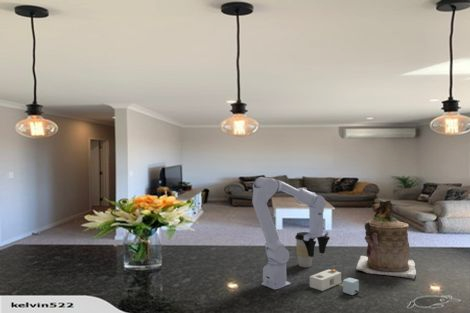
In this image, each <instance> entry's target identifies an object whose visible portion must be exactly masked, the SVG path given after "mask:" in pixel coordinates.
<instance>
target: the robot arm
mask: <svg viewBox="0 0 470 313" xmlns="http://www.w3.org/2000/svg"><path fill="white" fill-rule="evenodd" d="M252 188H253V189H252V190H253V191H252V199H251V200H252V201H251V202H252V206H253V208H254V212H255V215H256V216H257V217H256V218H257V219H258V222H259V225H260V228H261V231H262V234H263V236H264V239H265V244H264V246H265V255H266V257H267V258H268V263H267V264H266V265H265V266H263V268H262V283H261V285H262V286H264V287H267V288H270V289H272V290H278V289H279V290H280V289H282V288H284V287H287V286H290V285H291V284H292V282H289V281H287V262H289V259H290V252H289V250H288V249H287V248H286V247H285V245H284V243H283V242H282V240H281V239H280V237H279V234H278V232H277V229H276V226H275V224H274V221H273V217H272V215H271V211H270V209H269V206H268V202H269V201H270V199H271V197H273V195H275V194H276V192H277V193H278V192H283V193H286V194H288V195H291V196H293V198H294V199H295V200H294V201H297V202H300V203H302V204H304V205H306V206H308V208H309V209H308V210H309V214H308V216H309V220H308V222H309V233H308V234H306V235H304V239H303V242H304V244H305V246H306V248H307V252H308V256H310V257H312V258H314V257H315V256H314V255H315V247H316V243H318V251H319V252H318V253H320V254H323V255H324V254H325V252H326V249H327V248H326V247H327V245H328V243H329V241H330V236H329V230H324V211H325V208H326V204H327V201H326V199H325V197H324V196H322V195H320V194H316V192H314V191H309V190H307V189H308V188H307V187H298V188H296V187H294V186H292V185H290V184H288V183H287V182H284V181H282V180H279V179H275V178H272V177H263V176H260V177H257V178H256V179H255V181H254V183H253V184H252ZM314 238H315V239H317V241H316V240H315V239H314ZM312 239H314V241H313V240H312Z"/></svg>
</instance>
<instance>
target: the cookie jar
mask: <svg viewBox="0 0 470 313" xmlns="http://www.w3.org/2000/svg"><path fill="white" fill-rule="evenodd" d="M393 205H394V202H392V201H391V200H390V199H388V200H380V201H379V203H375V204H373V205H372V211H373V212H374V217H373V218H371V219H370V220H368V221H366V222H365V224H364V230H365V237H364V240H365V242H366V244H367V247H366V255H360V256H359V260H358V261H357V264H356V267H355V268H356V269H355V270H357V271H362V272H364V273H366V274H371V275H373V274H374V275H384V276H394V277H402V278H408V279H413V280H415V277H416V275H417V270H416V263H415V260H413V259H410V258H411V257H410V243H409V234H408V229H409V227H410V225H409V223H407V222H402V221H399V220H398V219H397V218H395V217H394V216H393V213H392V207H393Z"/></svg>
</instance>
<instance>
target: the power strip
mask: <svg viewBox="0 0 470 313" xmlns="http://www.w3.org/2000/svg"><path fill="white" fill-rule="evenodd" d="M343 276H344V275H343V274H342V272H340V271H338V270H337V269H334V268H333V269H325V270H323V271H320V272H316V273H314V274H313V275H309V288H312V289H316V290H318V291H322V292H323V291H325V290H328V289H330V288H333V287H335V286H337V285H338V286H339V284H342V277H343Z"/></svg>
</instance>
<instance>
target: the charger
mask: <svg viewBox="0 0 470 313" xmlns="http://www.w3.org/2000/svg"><path fill="white" fill-rule="evenodd" d="M338 286H341V287H342V293H345V294H348V295H351V296H354V295H356V294H361V295H364V291H363V292H362V291H360V280H359V279H356V278H352V277H348V278H344V279H343V281H342V282H341V283H340V284H338Z"/></svg>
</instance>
